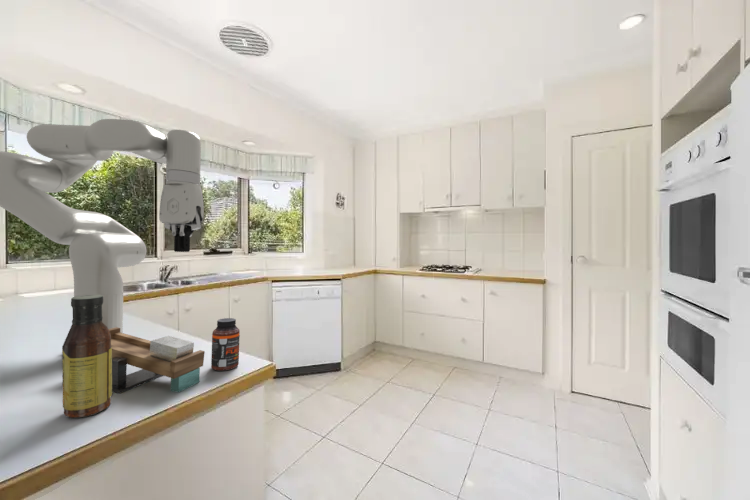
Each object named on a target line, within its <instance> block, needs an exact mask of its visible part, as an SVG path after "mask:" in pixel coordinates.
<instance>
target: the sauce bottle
mask: <svg viewBox="0 0 750 500" xmlns="http://www.w3.org/2000/svg"><path fill="white" fill-rule="evenodd" d="M102 304H103V296H102V295H83V296H76V297H74V296H73V297H71V299H70V307H71V308H72V320H71V326H70V329H69V331H68V333H67V335H66V337H65V339H64V342H63V344H62V348H61V353H62V354H61V355H62V356H61V357H62V361H61V364H62V365H61V368H62V408H63V414H64V415H65V417H66V418H71V419H74V418H75V419H80V418H87V417H90V416H91V417H92V416H94V415H96V414H98V413H100V412H102V411H105V410H106V409H107V408H109V407H110V406H111V404H112V403H111V401H112V398H111V397H112V395H113V392H112V346H111V333H110V331H109V329H108V328H107V326H106V325H105V324H104V323H103V322H102V319H103V317H102Z"/></svg>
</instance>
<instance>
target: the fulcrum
mask: <svg viewBox="0 0 750 500" xmlns="http://www.w3.org/2000/svg"><path fill="white" fill-rule="evenodd" d="M127 367H128V364H127V359H126V358H120V357H114V358H112V393H114V394H122V393H124V392H126V391H129V390H131V389H134V388H136V387H138V386H141V385H143V384H145V383H149V382H151V381H153V380H157V379H158V378H160V377H163V375H160V374H157V373H154V372H150V371H147V370H144V369H138V370H137V371H134V372H130V373H129V374H127V370H128V369H127ZM200 368H201V367H199V368H197V369H195V370H193V371H190V372H188V373H186V374H184V375H181V376H179V377H177V378H175V379H173V378H170V391H171V392H175V393H180V392H182V391H184V390H187V389H188V388H190V387H193V386H194V385H196V384H199V383H200V377H201V376H200V370H201V369H200Z"/></svg>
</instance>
